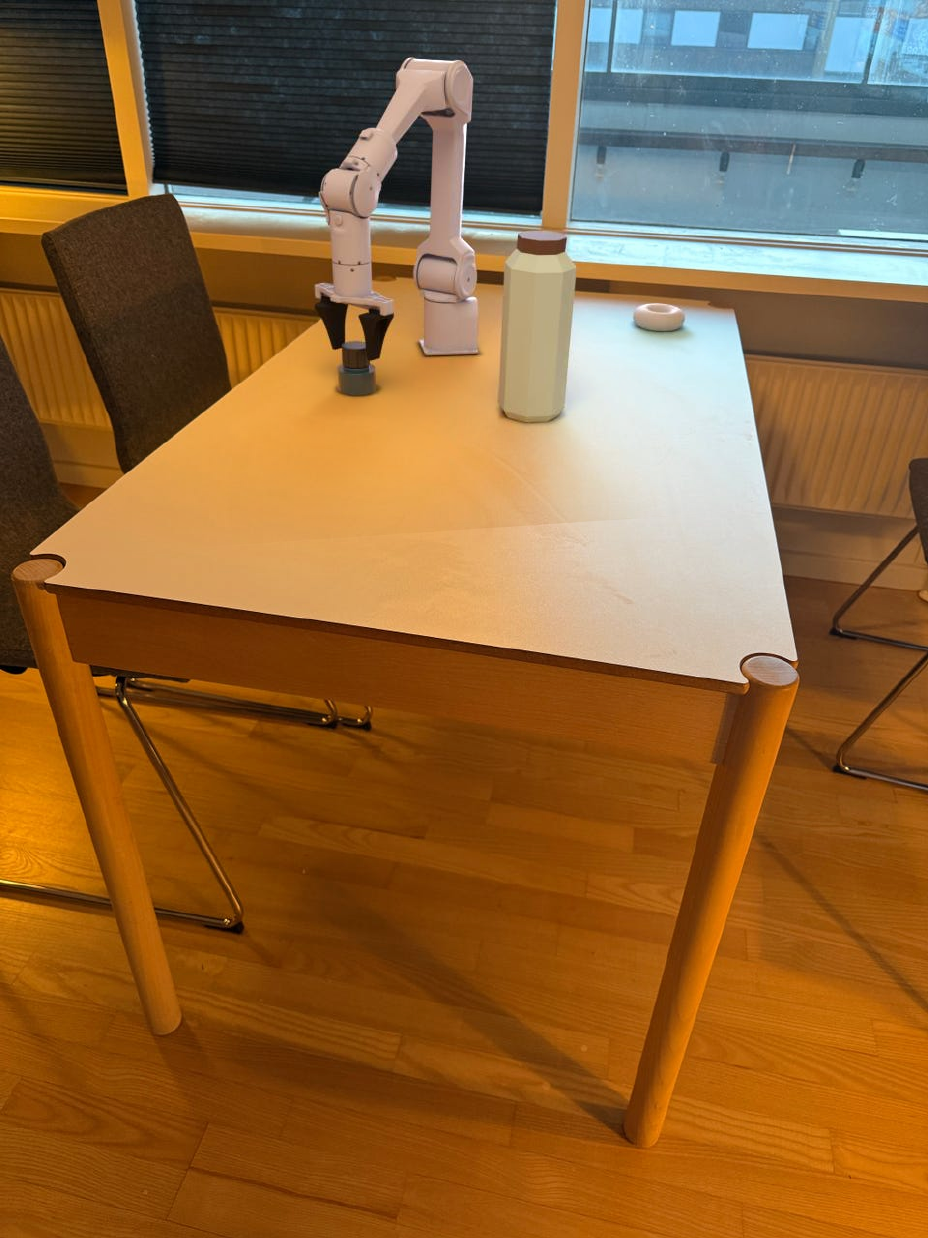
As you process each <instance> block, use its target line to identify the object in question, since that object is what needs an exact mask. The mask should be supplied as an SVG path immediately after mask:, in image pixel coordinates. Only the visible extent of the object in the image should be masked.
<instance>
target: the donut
mask: <svg viewBox="0 0 928 1238" xmlns="http://www.w3.org/2000/svg"><path fill="white" fill-rule="evenodd" d="M632 319H633V321H634V323H635V325H636V326H638V327H640V328H641V329H644V330H647V331H648V330H649V331H654V332H670V331H671V332H672V331H675V330H678V329H680V328H682V326H683V325H684V323H685V320H686V316H685V313H684V311H683V310H682V309H680V308H679V307H677V306H674V305H671V304H665V303H646V304H641V305H639V306H638V307H636V309H635V310H634V311H633V313H632Z"/></svg>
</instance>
